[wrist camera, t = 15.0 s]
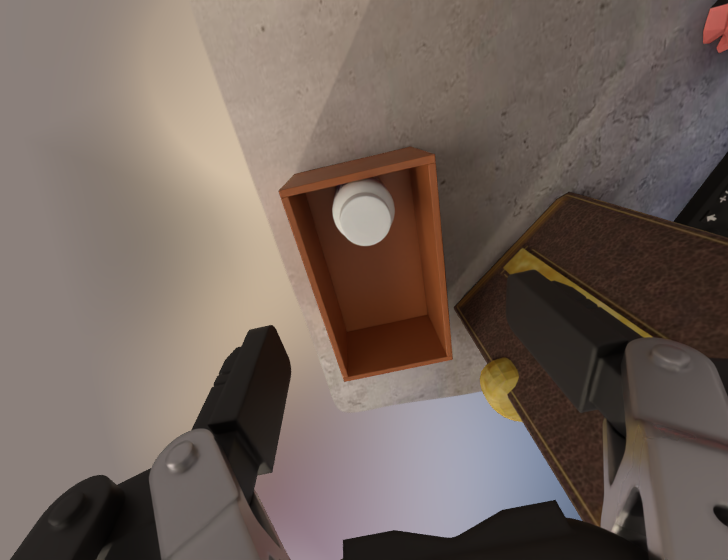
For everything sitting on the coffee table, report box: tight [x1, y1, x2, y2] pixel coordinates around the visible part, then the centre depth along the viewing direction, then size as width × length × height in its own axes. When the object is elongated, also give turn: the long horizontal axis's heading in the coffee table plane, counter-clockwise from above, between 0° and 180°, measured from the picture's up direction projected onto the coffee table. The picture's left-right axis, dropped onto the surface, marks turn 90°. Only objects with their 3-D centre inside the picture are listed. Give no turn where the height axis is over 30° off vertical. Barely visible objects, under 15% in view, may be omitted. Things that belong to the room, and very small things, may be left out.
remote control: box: [674, 153, 728, 238], centre depth 34 cm, size 8×32×2 cm, turn 164°
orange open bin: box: [279, 147, 453, 382], centre depth 31 cm, size 21×12×9 cm, turn 12°
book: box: [454, 192, 728, 527], centre depth 26 cm, size 22×8×25 cm, turn 145°
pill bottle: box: [332, 176, 395, 246], centre depth 26 cm, size 5×5×10 cm
